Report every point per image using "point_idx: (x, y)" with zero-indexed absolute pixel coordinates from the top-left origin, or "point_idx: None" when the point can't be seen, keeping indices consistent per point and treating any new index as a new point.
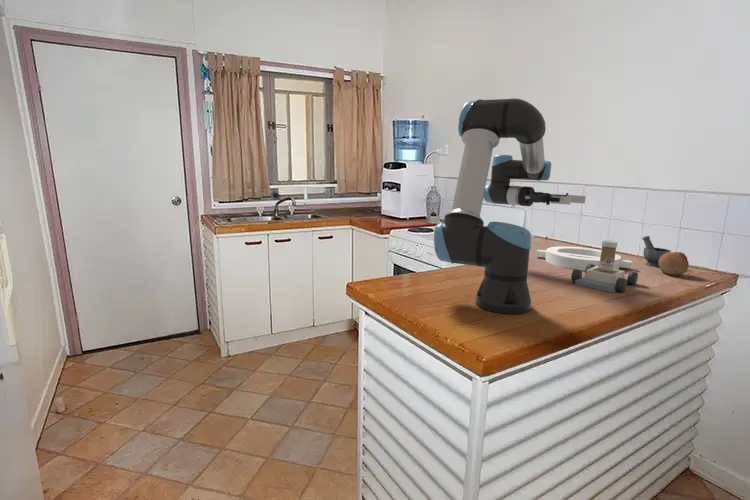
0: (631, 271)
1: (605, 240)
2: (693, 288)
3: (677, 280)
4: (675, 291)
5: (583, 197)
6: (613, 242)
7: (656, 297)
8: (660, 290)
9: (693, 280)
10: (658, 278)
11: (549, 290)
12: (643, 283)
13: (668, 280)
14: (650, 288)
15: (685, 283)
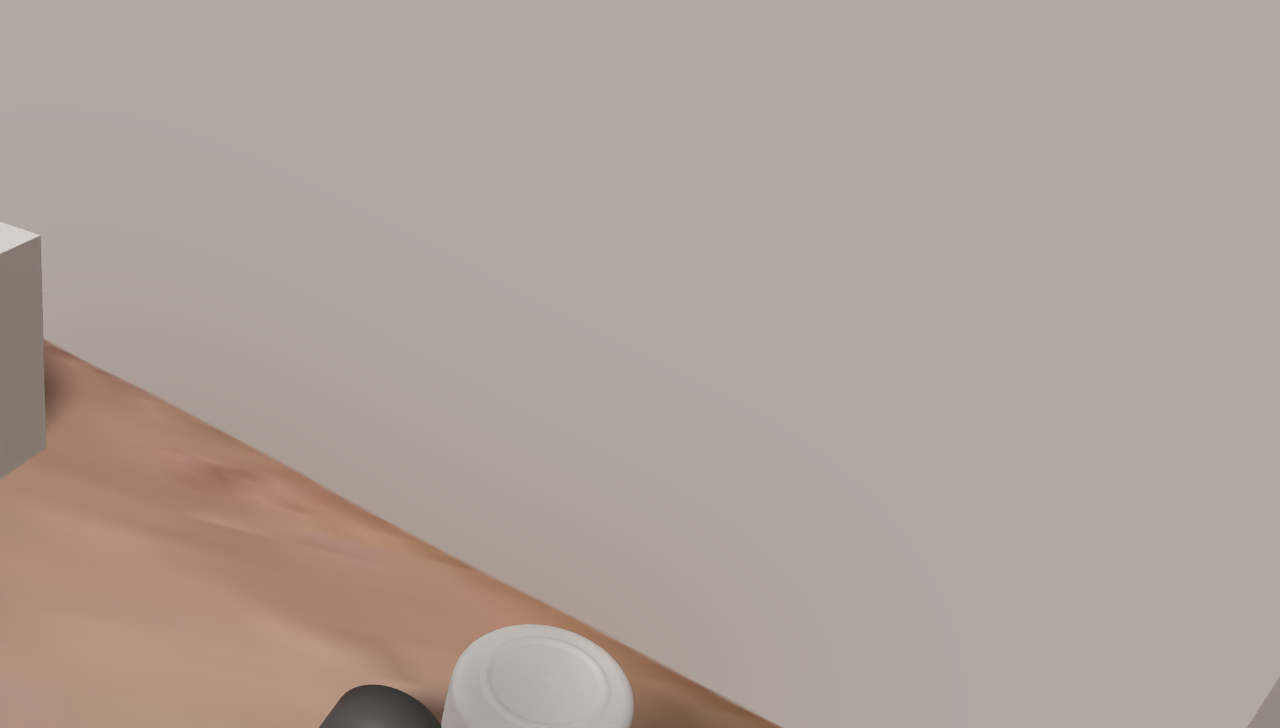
0: (368, 721)
1: (532, 722)
2: (301, 475)
3: (68, 480)
4: (453, 582)
5: (8, 299)
6: (617, 665)
7: (714, 724)
8: None
9: None
10: (31, 565)
11: None
12: (288, 705)
13: (90, 526)
14: None
15: (158, 468)
